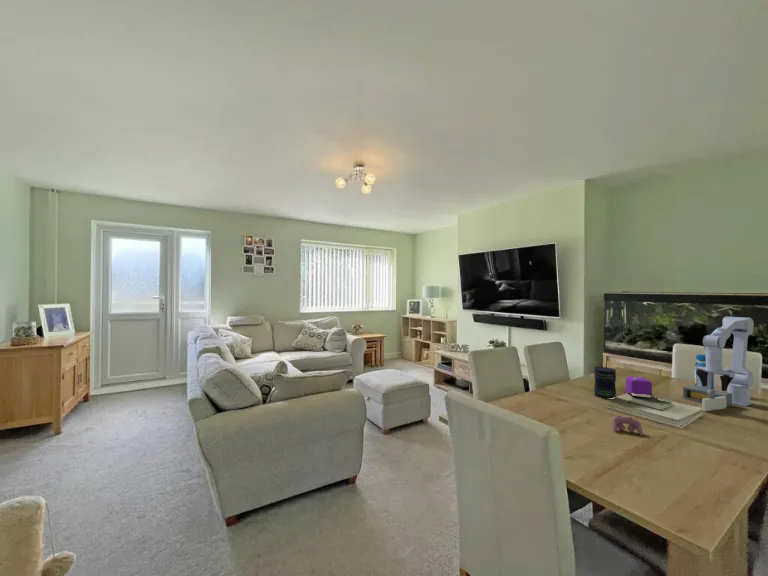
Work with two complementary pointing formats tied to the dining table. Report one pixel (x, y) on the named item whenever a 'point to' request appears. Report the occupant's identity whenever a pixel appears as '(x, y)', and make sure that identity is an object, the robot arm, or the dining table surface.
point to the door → (713, 402)
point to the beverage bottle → (710, 378)
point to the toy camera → (638, 385)
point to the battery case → (704, 394)
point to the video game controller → (621, 420)
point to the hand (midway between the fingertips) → (714, 388)
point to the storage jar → (604, 382)
